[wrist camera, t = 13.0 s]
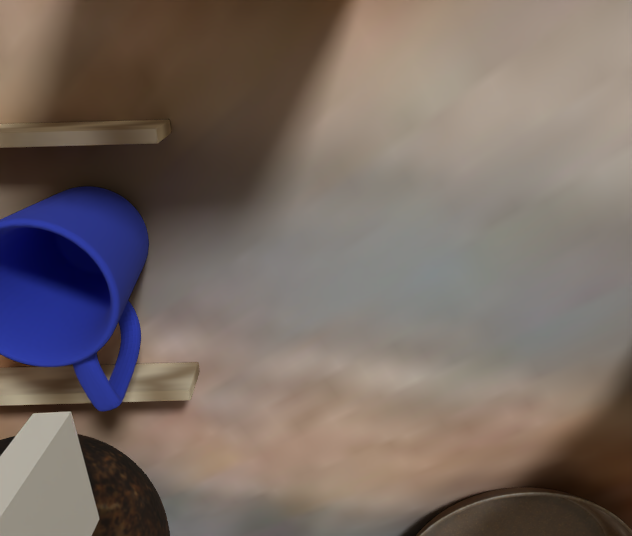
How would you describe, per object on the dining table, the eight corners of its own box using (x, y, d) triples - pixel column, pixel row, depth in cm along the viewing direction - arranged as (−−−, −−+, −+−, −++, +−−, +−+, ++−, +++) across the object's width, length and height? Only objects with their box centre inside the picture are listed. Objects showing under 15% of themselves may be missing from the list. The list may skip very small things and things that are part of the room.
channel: (169, 119, 36) (144, 136, 30) (199, 371, 42) (183, 423, 37) (-110, 126, 36) (-187, 145, 30) (-35, 378, 42) (-86, 431, 37)
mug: (96, 349, 42) (36, 441, 32) (13, 193, 37) (-84, 248, 28) (203, 318, 41) (173, 403, 32) (132, 154, 36) (72, 198, 27)
